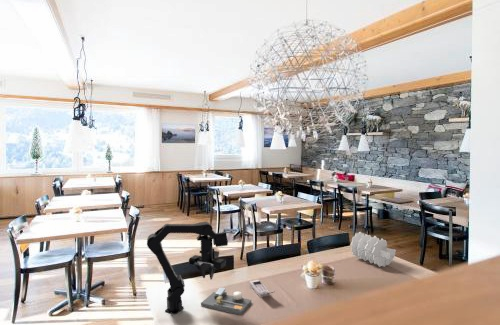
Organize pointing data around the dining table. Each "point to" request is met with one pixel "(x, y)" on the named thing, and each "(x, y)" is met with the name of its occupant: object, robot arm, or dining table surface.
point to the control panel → (227, 303)
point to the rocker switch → (220, 291)
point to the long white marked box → (259, 288)
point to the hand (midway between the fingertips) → (207, 278)
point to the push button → (237, 295)
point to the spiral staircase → (372, 249)
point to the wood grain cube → (219, 300)
